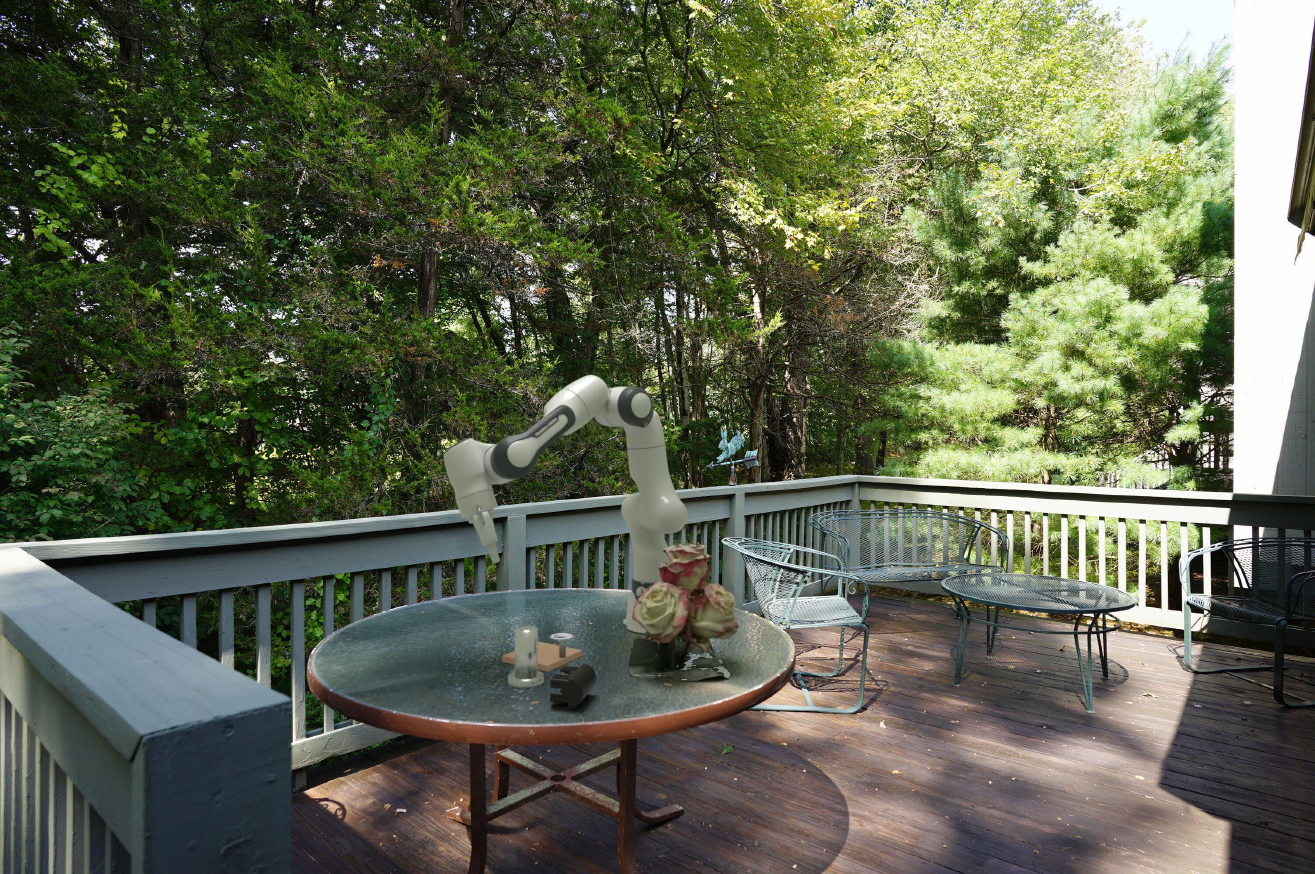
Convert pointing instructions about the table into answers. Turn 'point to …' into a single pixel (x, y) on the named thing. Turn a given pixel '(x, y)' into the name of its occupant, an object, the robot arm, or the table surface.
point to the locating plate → (549, 656)
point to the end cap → (572, 686)
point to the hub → (526, 659)
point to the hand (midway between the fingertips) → (496, 561)
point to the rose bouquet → (681, 618)
